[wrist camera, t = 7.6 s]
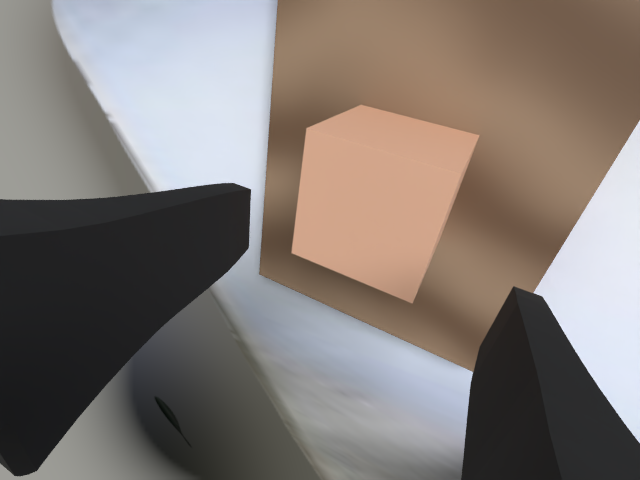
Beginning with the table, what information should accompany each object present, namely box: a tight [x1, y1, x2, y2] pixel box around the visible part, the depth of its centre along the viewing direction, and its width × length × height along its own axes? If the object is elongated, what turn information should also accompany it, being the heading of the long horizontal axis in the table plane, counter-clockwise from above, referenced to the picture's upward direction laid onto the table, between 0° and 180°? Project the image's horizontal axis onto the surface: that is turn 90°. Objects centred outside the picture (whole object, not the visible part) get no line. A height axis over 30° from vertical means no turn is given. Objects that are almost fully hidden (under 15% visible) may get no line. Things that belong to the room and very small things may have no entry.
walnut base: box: [259, 0, 640, 372], centre depth 17 cm, size 18×14×2 cm
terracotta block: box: [292, 105, 480, 303], centre depth 14 cm, size 5×5×5 cm
